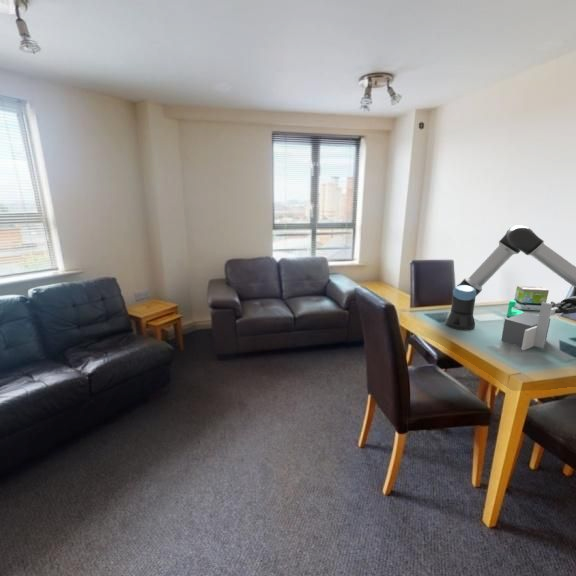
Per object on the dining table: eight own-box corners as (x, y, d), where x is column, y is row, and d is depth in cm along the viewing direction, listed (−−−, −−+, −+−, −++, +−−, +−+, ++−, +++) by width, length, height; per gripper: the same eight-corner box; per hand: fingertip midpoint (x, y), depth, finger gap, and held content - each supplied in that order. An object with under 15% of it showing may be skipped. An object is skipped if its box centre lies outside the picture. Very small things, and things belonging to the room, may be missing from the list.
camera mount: (521, 320, 198) (524, 304, 196) (506, 317, 203) (509, 302, 200) (522, 315, 207) (524, 299, 205) (508, 312, 212) (510, 297, 209)
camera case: (527, 348, 158) (531, 326, 155) (501, 340, 168) (504, 318, 165) (546, 340, 168) (550, 318, 165) (520, 332, 178) (524, 312, 175)
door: (532, 353, 150) (541, 307, 144) (521, 349, 154) (529, 304, 149) (543, 348, 155) (552, 304, 150) (532, 344, 159) (540, 301, 154)
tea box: (520, 310, 217) (524, 289, 213) (512, 305, 226) (516, 285, 223) (545, 311, 214) (549, 289, 210) (536, 306, 224) (540, 286, 220)
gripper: (586, 315, 160) (564, 323, 149) (555, 308, 171) (533, 315, 160) (589, 300, 158) (568, 308, 147) (558, 294, 170) (535, 301, 158)
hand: (550, 312), depth 154 cm, fingers closed
